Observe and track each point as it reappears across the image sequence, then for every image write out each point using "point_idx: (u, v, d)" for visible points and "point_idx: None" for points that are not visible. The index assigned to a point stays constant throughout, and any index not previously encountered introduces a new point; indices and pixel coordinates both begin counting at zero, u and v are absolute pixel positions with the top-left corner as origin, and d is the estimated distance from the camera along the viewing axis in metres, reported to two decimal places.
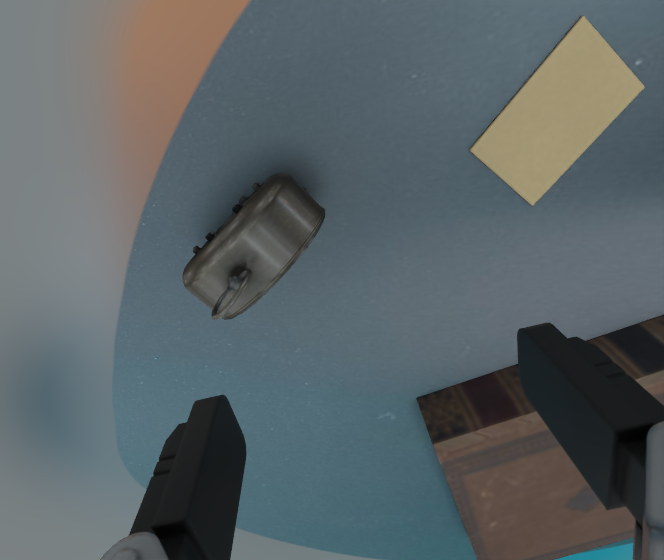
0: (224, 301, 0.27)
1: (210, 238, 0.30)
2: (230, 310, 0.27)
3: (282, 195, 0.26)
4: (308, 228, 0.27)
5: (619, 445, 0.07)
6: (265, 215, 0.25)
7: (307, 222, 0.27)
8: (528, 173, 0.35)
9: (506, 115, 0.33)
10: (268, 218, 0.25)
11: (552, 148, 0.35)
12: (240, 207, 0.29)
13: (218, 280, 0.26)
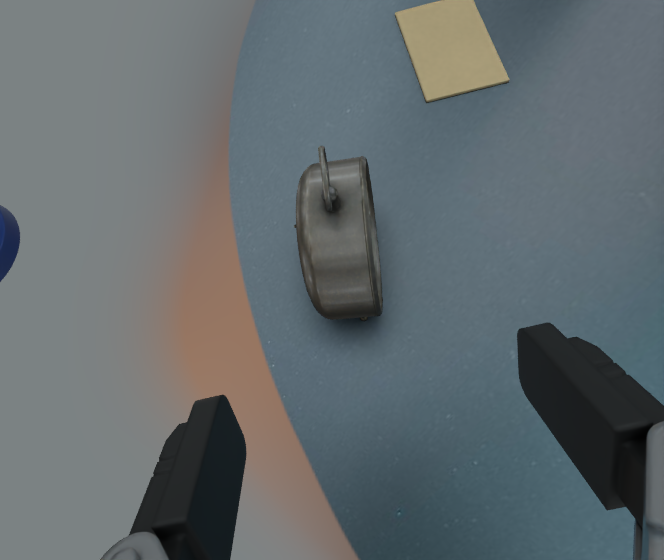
0: (347, 244, 0.24)
1: None
2: (361, 249, 0.24)
3: None
4: None
5: (619, 445, 0.07)
6: (314, 167, 0.26)
7: None
8: (477, 72, 0.40)
9: (420, 70, 0.41)
10: (318, 166, 0.26)
11: (470, 52, 0.41)
12: None
13: (324, 226, 0.24)
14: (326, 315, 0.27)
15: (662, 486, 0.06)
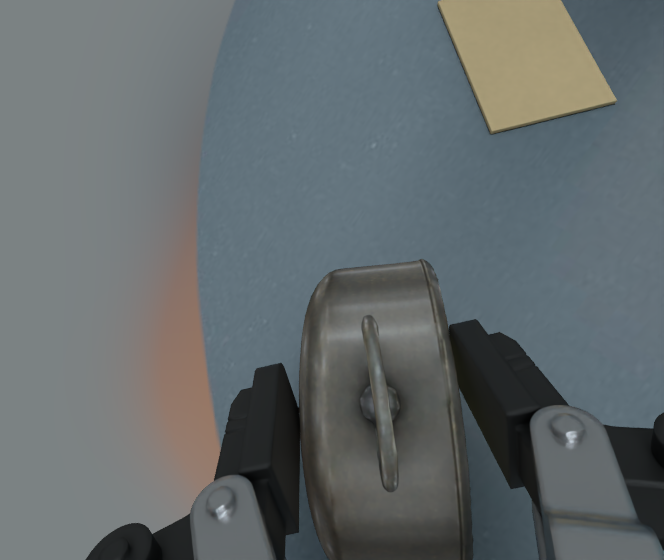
0: (416, 499, 0.11)
1: None
2: (446, 511, 0.10)
3: (340, 271, 0.15)
4: (412, 266, 0.14)
5: (513, 428, 0.08)
6: (335, 293, 0.13)
7: (404, 265, 0.15)
8: (566, 89, 0.27)
9: (480, 85, 0.28)
10: (342, 292, 0.13)
11: (552, 59, 0.28)
12: None
13: (362, 457, 0.11)
14: None
15: (550, 471, 0.07)
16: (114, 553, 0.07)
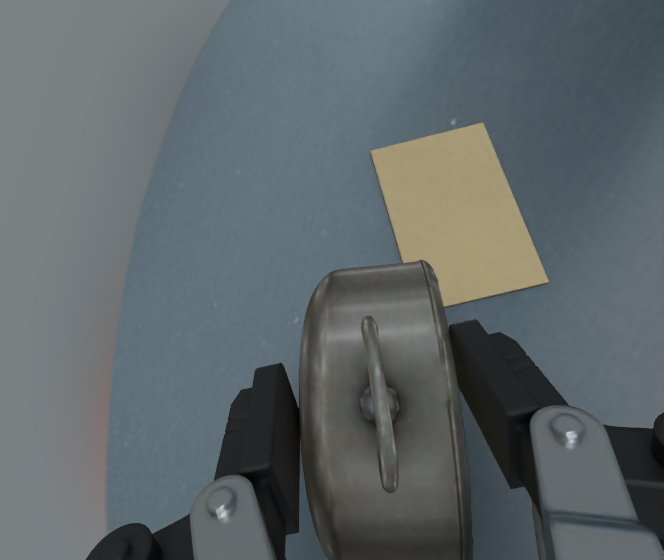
0: (416, 500, 0.11)
1: None
2: (446, 512, 0.10)
3: (340, 271, 0.15)
4: (412, 267, 0.14)
5: (513, 428, 0.08)
6: (335, 293, 0.13)
7: (404, 265, 0.15)
8: (497, 265, 0.25)
9: (408, 255, 0.26)
10: (342, 292, 0.13)
11: (485, 227, 0.26)
12: None
13: (362, 458, 0.11)
14: None
15: (550, 471, 0.07)
16: (113, 554, 0.07)
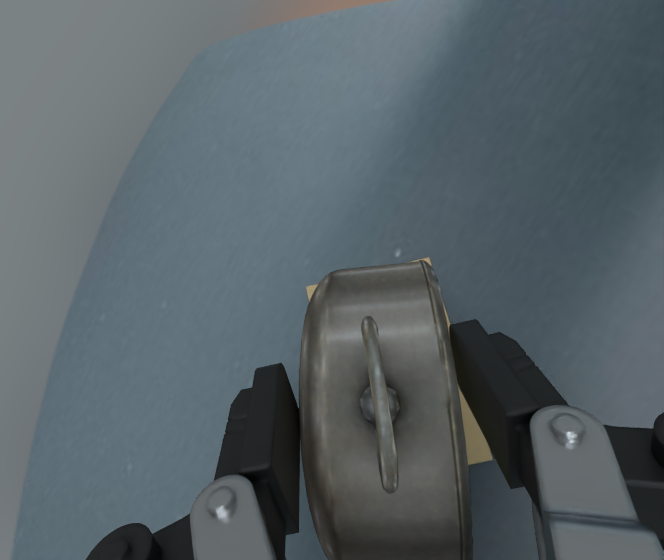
0: (416, 500, 0.11)
1: None
2: (446, 512, 0.10)
3: (340, 271, 0.15)
4: (412, 267, 0.14)
5: (512, 428, 0.08)
6: (335, 293, 0.13)
7: (404, 266, 0.15)
8: None
9: None
10: (342, 293, 0.13)
11: None
12: None
13: (362, 458, 0.11)
14: None
15: (550, 471, 0.07)
16: (113, 553, 0.07)
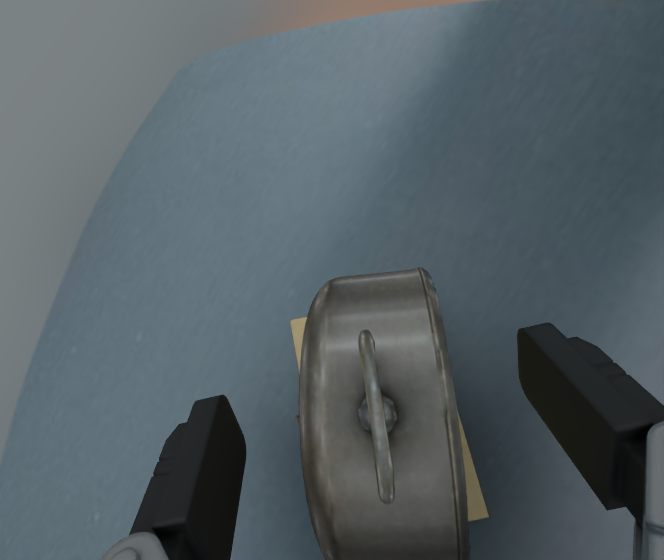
0: (414, 508, 0.11)
1: None
2: (444, 519, 0.11)
3: (339, 279, 0.15)
4: (410, 275, 0.14)
5: (619, 445, 0.07)
6: (334, 302, 0.13)
7: (402, 274, 0.15)
8: None
9: None
10: (341, 302, 0.13)
11: None
12: None
13: (361, 466, 0.11)
14: None
15: (662, 486, 0.06)
16: None
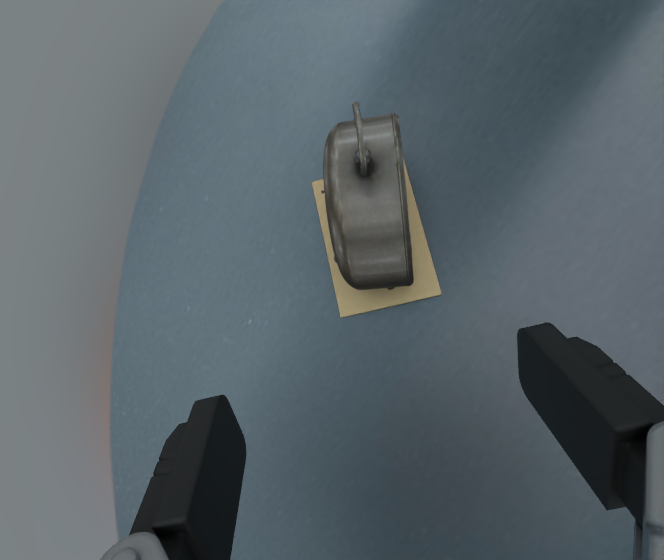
0: (381, 211, 0.22)
1: None
2: (396, 216, 0.22)
3: (345, 122, 0.26)
4: None
5: (619, 445, 0.07)
6: (341, 126, 0.24)
7: None
8: None
9: (336, 271, 0.33)
10: (346, 125, 0.24)
11: None
12: None
13: (355, 192, 0.22)
14: (355, 286, 0.26)
15: (662, 486, 0.06)
16: None
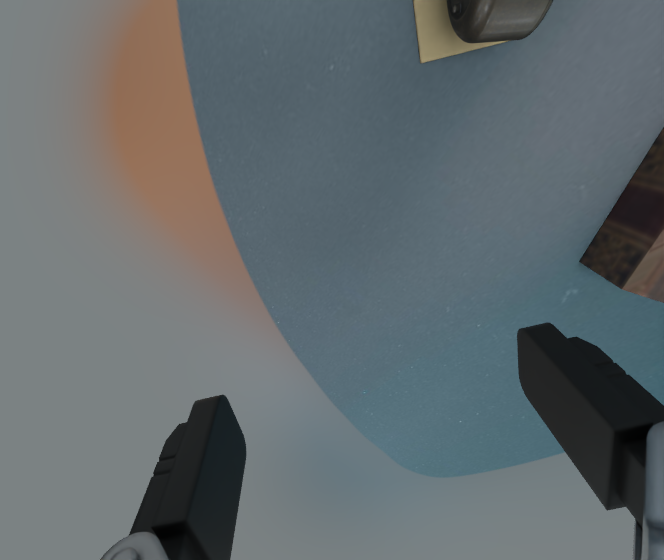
0: None
1: None
2: None
3: None
4: None
5: (619, 445, 0.07)
6: None
7: None
8: None
9: (420, 10, 0.33)
10: None
11: None
12: None
13: None
14: (473, 42, 0.28)
15: (662, 486, 0.06)
16: None
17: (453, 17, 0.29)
